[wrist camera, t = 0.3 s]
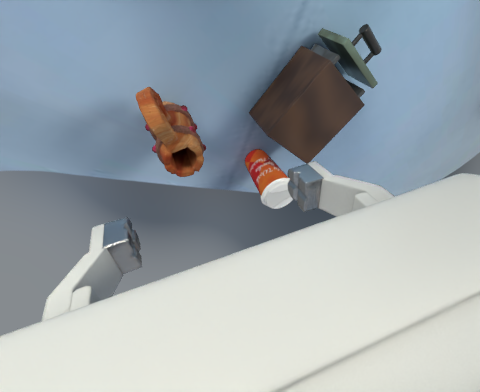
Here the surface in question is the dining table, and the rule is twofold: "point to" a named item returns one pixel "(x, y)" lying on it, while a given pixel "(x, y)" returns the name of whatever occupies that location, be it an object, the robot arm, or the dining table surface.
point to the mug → (172, 133)
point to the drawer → (350, 55)
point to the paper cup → (268, 179)
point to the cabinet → (306, 105)
